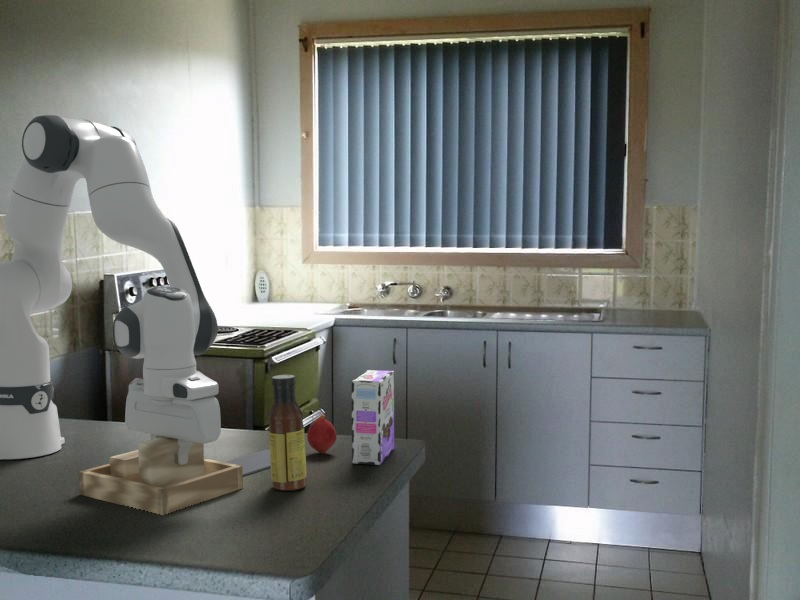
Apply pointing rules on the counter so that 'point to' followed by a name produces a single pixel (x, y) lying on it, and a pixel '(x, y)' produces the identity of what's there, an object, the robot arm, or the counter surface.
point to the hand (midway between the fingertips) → (172, 461)
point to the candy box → (372, 417)
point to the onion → (321, 435)
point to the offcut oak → (131, 478)
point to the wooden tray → (157, 499)
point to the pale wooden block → (168, 462)
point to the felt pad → (253, 462)
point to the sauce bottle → (286, 437)
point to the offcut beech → (125, 464)
